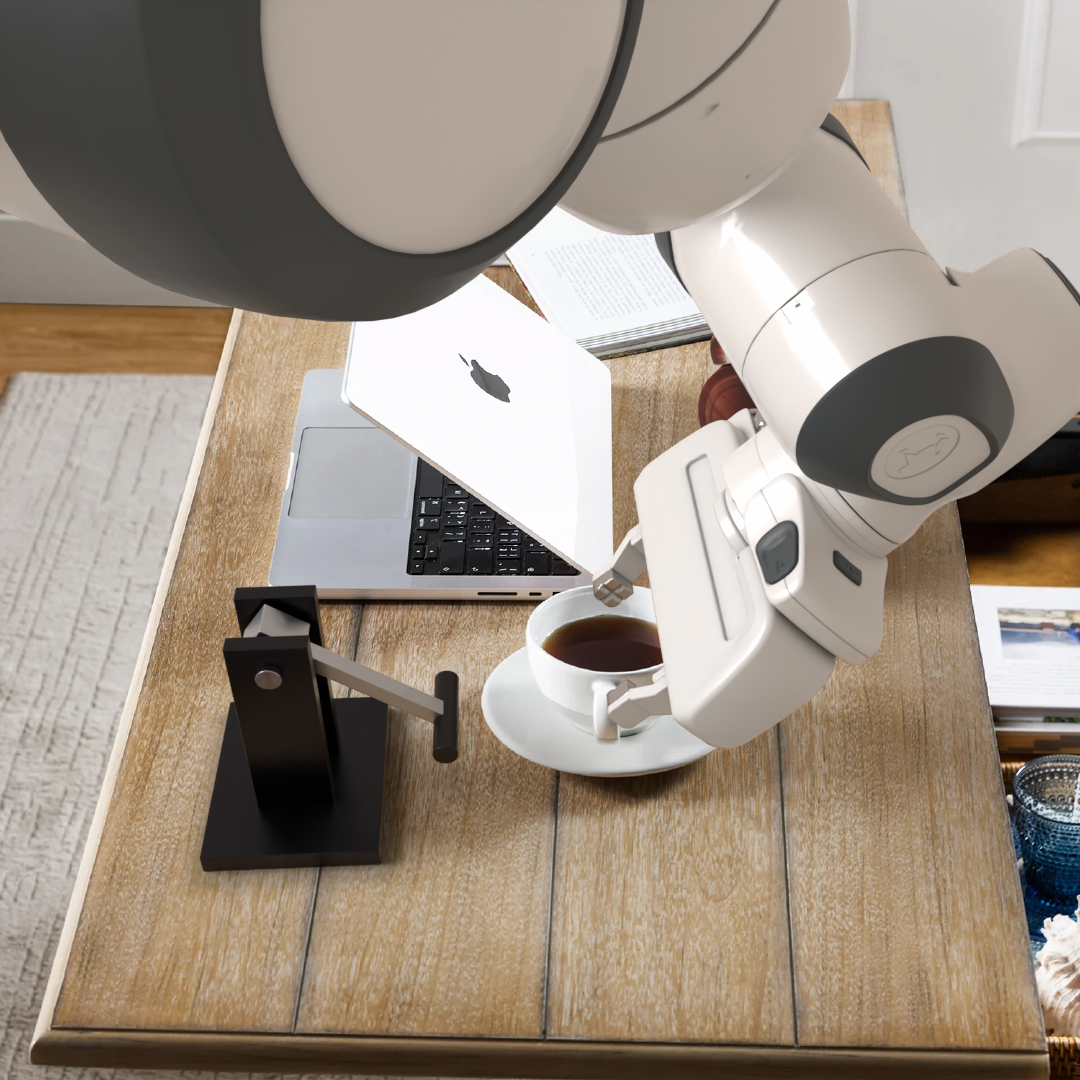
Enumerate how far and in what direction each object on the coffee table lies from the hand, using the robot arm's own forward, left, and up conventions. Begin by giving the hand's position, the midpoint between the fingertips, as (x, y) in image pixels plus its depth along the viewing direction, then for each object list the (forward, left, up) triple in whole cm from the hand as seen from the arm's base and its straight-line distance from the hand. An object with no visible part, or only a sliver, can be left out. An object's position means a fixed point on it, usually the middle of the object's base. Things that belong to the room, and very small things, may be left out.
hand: (607, 651), depth 71 cm
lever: (0, +15, -2) cm, 15 cm away
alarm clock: (+29, -15, -10) cm, 34 cm away
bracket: (0, +18, -10) cm, 21 cm away
